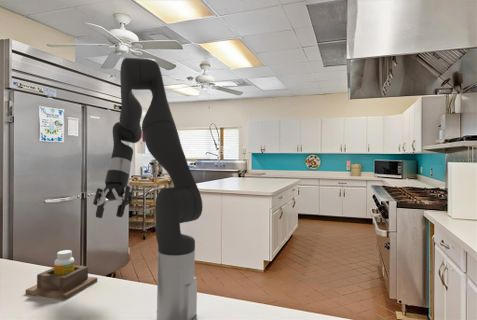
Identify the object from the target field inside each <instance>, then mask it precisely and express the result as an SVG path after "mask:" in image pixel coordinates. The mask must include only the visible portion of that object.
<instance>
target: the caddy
mask: <svg viewBox="0 0 477 320" xmlns="http://www.w3.org/2000/svg"><path fill="white" fill-rule="evenodd" d="M97 282H98V277H95V276H94V277H93V276H89V266H85V265H78V264H77V265H76V264H74V271H73V272H71V273H69V274H67V275H64V276H63V275H55V274H54V267H52V268H49V269H48V270H47V269H46V270H45V271H43V272H40V273H38V274H37V275H36V284H35V285H33V286H31V287H29V288H26V289H25V295H31V296H37V297H38V296H39V297H45V298H53V299H59V300H68V299H70V298H72V297H73V296H75V295H76V294H78V293H80V292H81V291H83V290H85V289H87V288H89V287H90V286H92V285H93V284H96V283H97Z"/></svg>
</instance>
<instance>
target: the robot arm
mask: <svg viewBox="0 0 477 320" xmlns="http://www.w3.org/2000/svg"><path fill="white" fill-rule="evenodd" d="M119 72H120V74H119V75H120V101H121V103H120V104H121V107H120V113H119V121H117V122H115V123H114V125H113V127H112V138H113V139H112V141H113V148H112V149H113V150H112V153H111V157H110V161H109V164H108V166H107V170H106V176H105V179H104V183H105V187H104V189H103V188H100V187H98V188H96V192H95V196H94V199H93V203H92V204H93V205H94V206H96V211H95V217H96V218H98V219H102V218H103V215H104V211H105V206H106V205H107V204H109V203H110V202H113V201H117V202H118V206H117V209H116V213H115V214H116V217H117V218H123V216H124V215H125V214H124V213H125V209H126V207H127V206H128V205H131V204H132V200H133V192H134V188H133V187H131V186H130V185H128V184H129V177H130V173H131V168H132V167H131V166H132V162H133V161H132V160H133V154H134V149H133V147H131V146H130V145H128V144H125V143H131V144H137V143H139V142H140V141H141V139H142V135H143V139H144V142H145V146H146V148H147V150H148V152H149V153H150V155H151V156H152V157H153V158H154V159H155V160H156V162H157V163H158V164H159V165H160V166H161V167H162V168H163V169H164V170H165V171H166V173H167V174H168V175H169V177H170V180H171V181H172V184H173V187H164V188H162V189H161V190H159V191H158V193H157V195H156V199H155V204H154V205H155V206H154V213H155V215H154V217H155V238H156V242H157V282H156V283H157V287H156V293H157V296H156V320H193V319H194V318H193V317H195V316H196V315H197V313H198V312H197V310H198V309H197V305H198V304H197V303H198V302H197V301H198V277H197V276H195V268H196V267H195V266H196V265H195V263H196V262H195V261H196V253H195V252H196V239H195V238H194V237H193V236H191V235H189V234H184V233H182V232H181V224H183V223H189V222H193V221H196V220H198V219H199V218H200V217H201V216H202V213H203V200H202V195H201V193H200V190H199V188H198V185H197V182H196V180H195V178H194V175H193V173H192V171H191V169H190V166H189V164H188V160H187V158H186V156H185V152H184V149H183V145H182V143H181V139H180V136H179V135H180V134H179V132H178V129H177V126H176V123H175V120H174V118H173V115H172V111H171V108H170V105H169V101H168V98H167V93H166V89H165V83H164V80H163V76H162V71H161V67H160V65H159V63H158V61H157V60H155V59H153V58H148V57H147V58H146V57H125V58H123V60H122V61H121V64H120V71H119ZM132 90H133V91H134V90H135V91H138V90H139V91H142V90H144V91H146V90H149V91H150V92H151V97H152V98H151V100H150V101H151V102H150V105H149V106H148V109H147V111H146V112H145V115H144V117H143V119H141V118H142V116H143V107H142V105H141V103H140V101H139V99H138V98H137V96H135V94H134V93H133V91H132ZM141 120H142V122H141ZM123 142H125V143H123ZM192 318H193V319H192Z"/></svg>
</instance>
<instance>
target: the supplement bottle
mask: <svg viewBox="0 0 477 320" xmlns="http://www.w3.org/2000/svg"><path fill="white" fill-rule="evenodd" d="M53 264H54V265H53V268H54V274H55V275H63V276H64V275H67V274H69V273H71V272H73V271H74V265H75V258H74V257H73V250H70V249H64V250H59V251H58V252H57V253H56V259H55V260H54V263H53Z"/></svg>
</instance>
